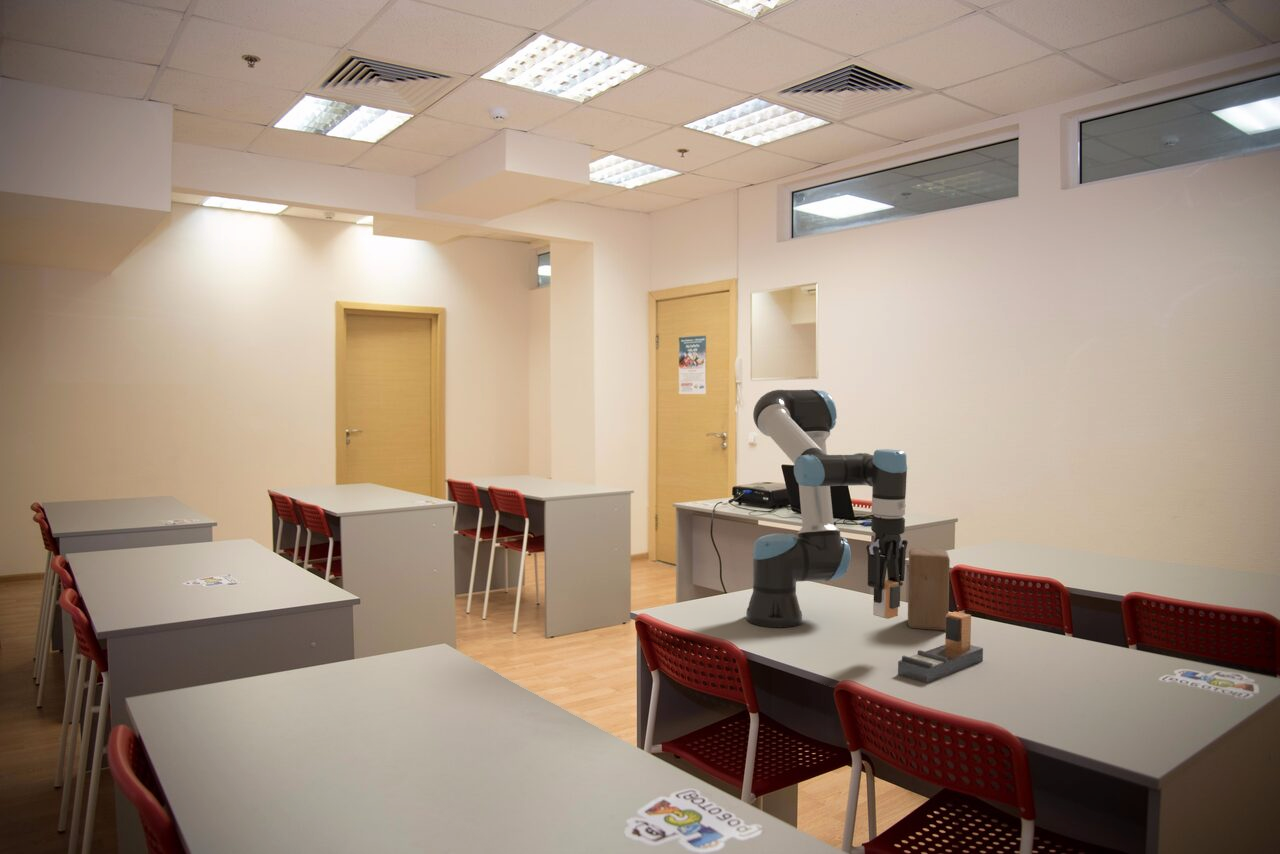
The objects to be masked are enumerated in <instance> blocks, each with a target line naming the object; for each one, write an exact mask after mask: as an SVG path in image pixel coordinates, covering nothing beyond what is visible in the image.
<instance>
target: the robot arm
mask: <svg viewBox="0 0 1280 854" xmlns="http://www.w3.org/2000/svg"><path fill="white" fill-rule="evenodd" d="M752 415H753V421H754V424H755V426H756V428H757V429H758V430H759V431H760V433H761V434H763V435H764V436H766V437H770V438H771V440H772V441H773V442H774V443H775V444H776V445H777V446H778V447H779V448H780V450H782V452H783V453H784V454H785V455H786V456H787V458H788V459H789V460H790V462H792V463H793V475H794V477H795V481H796V482H797V484H798V491H799V503H800V512H801V513H800V514H801V523H802V526H801V528H800V529H799V530H798V532H797V536H796V535H795V534H793V533H788V532H787V533H785V532H783V533H780V532H779V533H777V532H776V533H771V534H766V535H763V536H760V537H758V538H757V539H756V540H755V541H754V543H753V554H752V560H753V563H752V565H753V569H752V571H753V572H752V581H753V582H752V594H751V596H750V599H749V603H748V606H747V608H746V616H745V618H746V619H745V620H746V621H747V622H748V623H751V624H753V625H756V626H760V627H765V628H767V627H768V628H790V627H796V626H799V625H801V624H802V623H803V612H802V610H801V608H800V607H801V606H800V604H799V600H798V596H797V590H796V589H797V583H798V582H815V581H816V582H817V581H826V582H827V581H831V580H839V579H842V578H844V576H845V575H846V573H847V572H848V569H849V568H850V563H851V558H852V557H851V546H850V544H849V541H848V540H847V538H845V537H843V536H841V531H840V529H839V528H838V527H837V526H836V525H835V523H834V514H833V504H832V496H831V495H832V493H831V487H837V486H841V487H843V486H846V487H847V486H866V487H867V486H868V487H872V489H871V490H872V492H871V493H872V494H871V495H872V496H871V497H872V498H871V513H872V516H871V521H870V522H871V524H870V526H871V528H870V529H871V531H872V532H873V533H874V535H875V536H874V540H873V543H872V544H867V546H866V553H867V586H868V587H870V588H873V605H874V615H873V616H875V615H877V616H876V617H879V616H880V617H879V618H882V617H885V610H886V589H884V583H885V580H886V575H887V580H890V581H894V582H899V585H900V587H902V586H903V582H904V581H905V575H906V574H905V573H906V572H905V571H906V570H905V569H906V568H905V567H906V555H907V554H906V551H907V547H908V543H909V542H908V540H906V539H901V538H902V537H901V535H902V534H903V535H904V534H905V532H906V531H905V530H906V529H905V527H906V525H905V524H906V518H905V517H903V516H905V515H906V495H907V477H908V476H907V474H908V473H907V472H908V465H907V454H906V452H905V451H904V450H901V449H889V448H887V449H885V448H884V449H883V448H882V449H876V450H874V452H873V454H870V453H866V452H865V453H862V452H861V453H859V452H858V453H854V454H827V444H826V442H827V439H828V438H829V436H831V431H832V430H833V429H834V428H835V426H836V424H837V421H836V420H837V418H838V416H837V407H836V404H835V401H834V399H833V398H832V396H831V395H829V393H828V392H826V391H825V390H815V389H775V390H771V391H768V392H766V393H765V394H763V395H762V396H761V397H760V398H759V399H758V400H757V402H756V403H755V406H754V409H753V414H752Z"/></svg>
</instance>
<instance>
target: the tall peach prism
mask: <svg viewBox="0 0 1280 854" xmlns="http://www.w3.org/2000/svg"><path fill="white" fill-rule="evenodd" d="M884 589H886V610H885V617H880V616H877V615H874V604H873V610H872V611H873V612H872V613H873V614H872V615H873V616H874V617H875V616H876V617H879V618H883V619H887V620H889V619H892V618H896V617H898V616H899V608H900V606H901V586H900V585H899V582H894V581H890V580H888V579H885V583H884Z"/></svg>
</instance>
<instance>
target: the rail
mask: <svg viewBox="0 0 1280 854" xmlns="http://www.w3.org/2000/svg"><path fill="white" fill-rule="evenodd" d="M971 632H972V614H969V613H963V612H959V611H952V612H949V613H948V614H946V630H945V644H943V645H940V646H938V647H935V648H931V649H929V650H925V651H924V650H920V649H919V650H917V654H914V655H912V656H911V655H910V656H907V655H902V656H901V660H900V659H899V660H898V661H897V675H899V676H902V677H905V678H908V679H911V680H915V681H918V682H922V683H925V684H928V683H931V682H933V681H936V680H938V679H941V678H944V677H946V676H947V675H951V674H953V673H956V672H959V671H961V670H964V669H966V668H968V667H970V666H971V667H972V665H975V664H978V663H981V662H983V661H984V648H983V647H981V646H975V645H973V644H971V636H972V635H971V634H972V633H971Z"/></svg>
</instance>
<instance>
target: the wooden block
mask: <svg viewBox="0 0 1280 854" xmlns="http://www.w3.org/2000/svg"><path fill="white" fill-rule="evenodd" d="M950 561H951V560H950V556H949V554H948V551H947V550H945V549H935V548H934V549H931V548H914V547H913V548H910V549H909V551H908V585H907V587H908V588H907V598H908V599H907V624H908V626H909V627H910V628H912V629H920V630H929V631H930V630H931V631H932V630H933V631H943V632H944V631H945V632H946V614H948V613H950V612H949V610H950V609H949V608H950V607H949V605H950V564H951V562H950Z"/></svg>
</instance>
